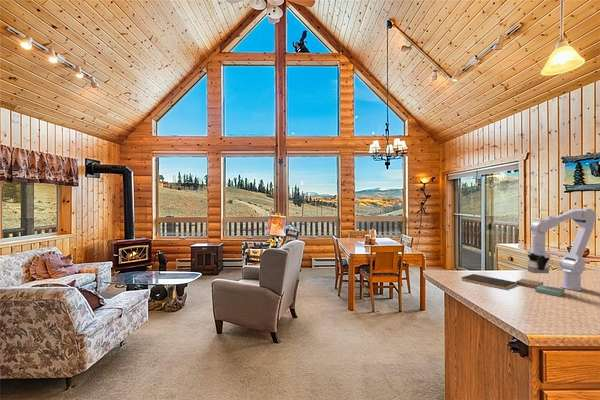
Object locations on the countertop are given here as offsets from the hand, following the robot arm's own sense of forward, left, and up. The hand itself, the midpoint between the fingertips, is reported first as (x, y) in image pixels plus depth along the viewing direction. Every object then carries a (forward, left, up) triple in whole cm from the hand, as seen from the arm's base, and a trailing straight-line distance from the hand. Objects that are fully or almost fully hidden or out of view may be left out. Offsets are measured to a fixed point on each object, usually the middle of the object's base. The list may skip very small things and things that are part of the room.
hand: (538, 269), depth 173 cm
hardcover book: (+10, -21, -11) cm, 26 cm away
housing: (0, 0, -2) cm, 2 cm away
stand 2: (+5, +6, -10) cm, 13 cm away
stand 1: (-3, -5, -10) cm, 12 cm away
